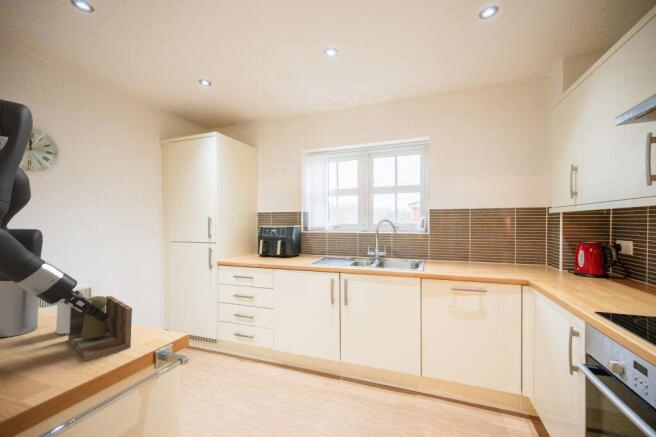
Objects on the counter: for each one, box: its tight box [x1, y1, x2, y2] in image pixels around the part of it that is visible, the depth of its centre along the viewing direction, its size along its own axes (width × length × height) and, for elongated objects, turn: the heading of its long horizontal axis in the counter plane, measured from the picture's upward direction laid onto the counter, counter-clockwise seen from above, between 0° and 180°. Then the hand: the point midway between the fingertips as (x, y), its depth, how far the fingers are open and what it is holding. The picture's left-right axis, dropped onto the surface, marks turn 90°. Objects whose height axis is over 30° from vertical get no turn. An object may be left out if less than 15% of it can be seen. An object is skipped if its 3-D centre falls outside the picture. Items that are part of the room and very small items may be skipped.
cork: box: [80, 295, 107, 339], centre depth 80 cm, size 6×6×11 cm
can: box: [55, 292, 87, 335], centre depth 89 cm, size 7×7×12 cm
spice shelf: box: [67, 295, 133, 362], centre depth 81 cm, size 20×10×12 cm, turn 53°
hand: (102, 316), depth 81 cm, fingers closed on cork, 4 cm apart
